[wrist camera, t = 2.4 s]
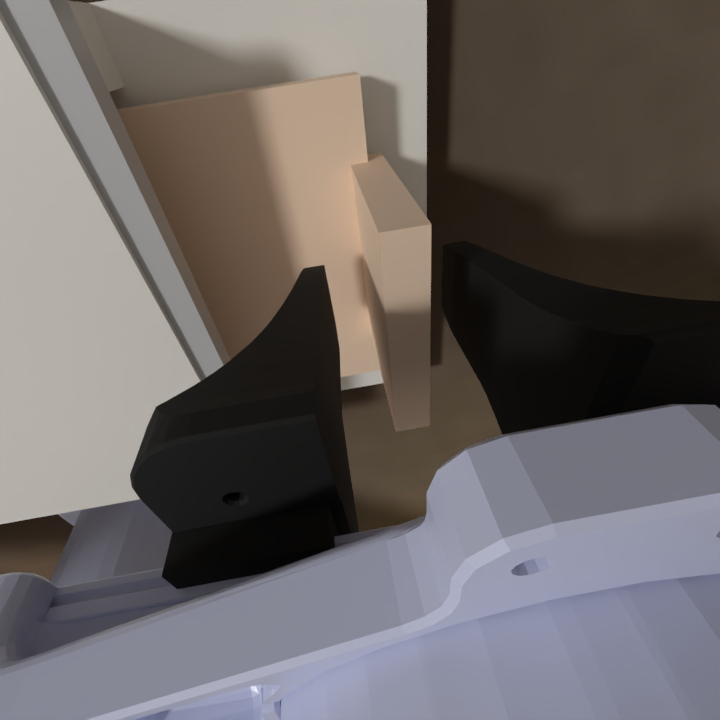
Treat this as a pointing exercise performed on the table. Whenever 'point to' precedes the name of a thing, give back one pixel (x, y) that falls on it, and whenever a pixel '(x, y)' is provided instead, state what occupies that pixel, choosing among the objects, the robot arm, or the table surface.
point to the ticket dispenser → (143, 210)
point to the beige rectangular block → (296, 221)
